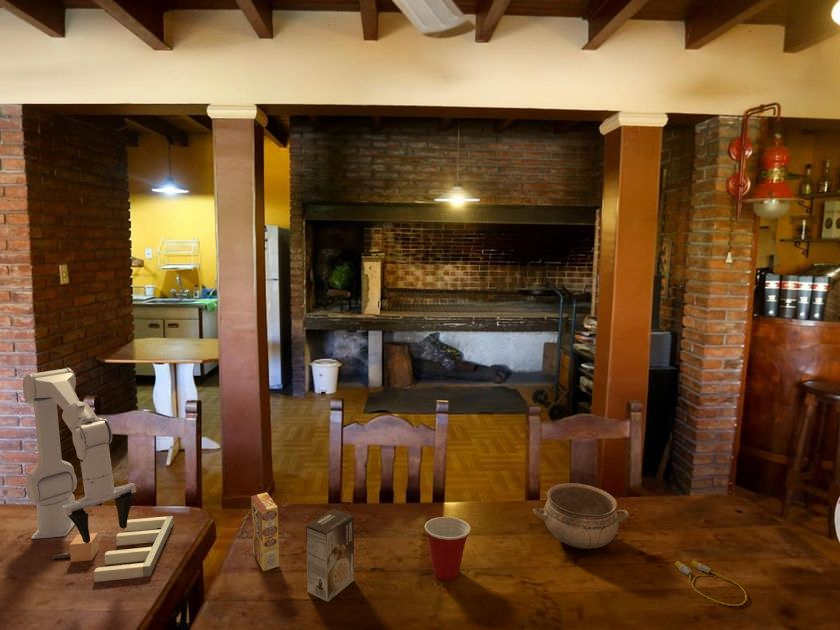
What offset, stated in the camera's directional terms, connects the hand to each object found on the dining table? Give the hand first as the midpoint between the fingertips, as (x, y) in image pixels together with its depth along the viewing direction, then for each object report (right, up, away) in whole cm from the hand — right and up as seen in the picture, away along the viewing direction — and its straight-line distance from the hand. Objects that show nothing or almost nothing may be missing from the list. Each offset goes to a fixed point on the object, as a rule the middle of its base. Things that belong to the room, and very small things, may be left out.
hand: (105, 534), depth 119 cm
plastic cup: (+77, -12, +6) cm, 78 cm away
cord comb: (+1, -9, +12) cm, 15 cm away
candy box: (+34, -10, +9) cm, 36 cm away
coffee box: (+51, -12, 0) cm, 52 cm away
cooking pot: (+113, -11, +20) cm, 115 cm away
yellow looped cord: (+139, -14, +4) cm, 140 cm away
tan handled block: (-13, -9, +9) cm, 18 cm away
